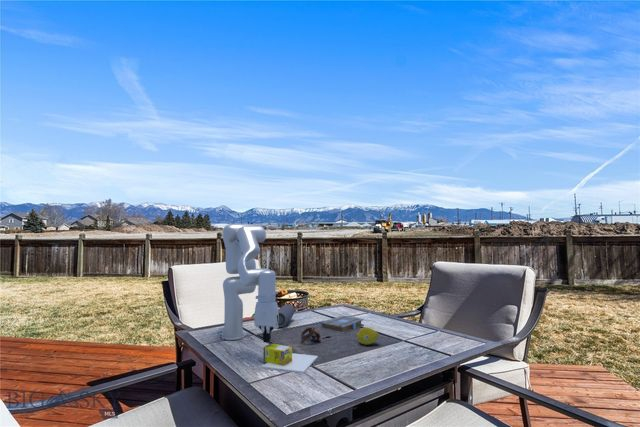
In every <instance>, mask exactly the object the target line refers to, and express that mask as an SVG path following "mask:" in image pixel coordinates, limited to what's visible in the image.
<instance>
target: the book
mask: <svg viewBox="0 0 640 427" xmlns="http://www.w3.org/2000/svg"><path fill="white" fill-rule="evenodd" d="M363 321H365V319H364V318H359V317H353V316H347V315H340V316H338V317H337V316H336V317H334V318H331V319H328V320H325V321H323V322H321V323H320V328H321V330H325V331H330V332H334V333H337V334H338V333H339V334H347V333H349V332H351V331H355V330H357V329H359V328H363V326H365V324H363V323H362V322H363Z"/></svg>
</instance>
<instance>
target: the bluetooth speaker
mask: <svg viewBox="0 0 640 427" xmlns="http://www.w3.org/2000/svg"><path fill="white" fill-rule="evenodd" d="M278 312H279V323H278V326H279V328H283V327H285V326H286V325H287V324H288V323H289V322H290V321H291V320H292V318H293V317H294V314H295V309H294V307H293V305H291V304H284V305H283V306H281V307H280V308H278Z"/></svg>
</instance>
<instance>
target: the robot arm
mask: <svg viewBox="0 0 640 427" xmlns="http://www.w3.org/2000/svg"><path fill="white" fill-rule="evenodd" d="M266 237H267V232H266V230H265V228H264V227H263V226H262V225H258V224H254V223H253V224H252V223H251V224H250V223H245V224H244V223H229V224H227V225H224V227H223V230H222V240H223V243H224V246H225V270H226V273H227V274H229V275H236V276H230V277H227V278H225V279H224V280H223V281H222V288H223V289H222V290H223V296H224V297H223V298H224V317H223V318H224V322H223V323H224V324H223V327H219V328H218V332H217V333H222V334H221V336H220V338H221V339H222V340H224V339H225V340H224V341H237V340H243V339H244V338H245V337H246V336H247V335H246V332H244V330H243V329H244V320H243V319H244V302H243V300H242V298H240V296H239V295H244V294H253V293H254V292H255V291H256V287H258V288H257V290H258V291H257V294H258V295H256V296H255V300H256V299H257V301H256V303H255V307H254V314H253V317H254V318H253V324H254V326H255V327H256V328H258V329H260V331H261V333H262V340H263V343H269V342H270V341H271V340H272V339H271V338H272V337H271V336H272V331H274V330H277V329H279V328H280V327H279V326H278V323H279V312H278V310H279V305H278V302H277V301H276V293H277V290H276V287H277V286H276V285H277V284H276V280H277V278H276V271H274V270H273V269H269V268H257V265H256V264H257V263H256V260H255V258H256V257H258V256H259V255H260V252H261V248H260V244H259V243H263V242H265V240H266V239H267V238H266ZM237 275H238V276H237Z"/></svg>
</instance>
